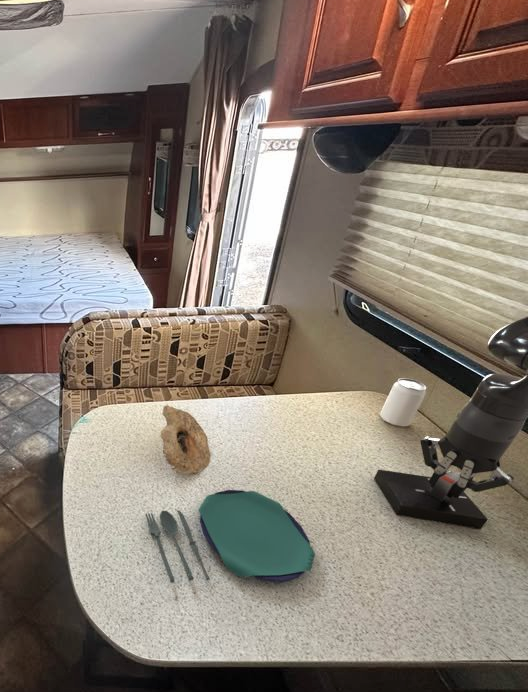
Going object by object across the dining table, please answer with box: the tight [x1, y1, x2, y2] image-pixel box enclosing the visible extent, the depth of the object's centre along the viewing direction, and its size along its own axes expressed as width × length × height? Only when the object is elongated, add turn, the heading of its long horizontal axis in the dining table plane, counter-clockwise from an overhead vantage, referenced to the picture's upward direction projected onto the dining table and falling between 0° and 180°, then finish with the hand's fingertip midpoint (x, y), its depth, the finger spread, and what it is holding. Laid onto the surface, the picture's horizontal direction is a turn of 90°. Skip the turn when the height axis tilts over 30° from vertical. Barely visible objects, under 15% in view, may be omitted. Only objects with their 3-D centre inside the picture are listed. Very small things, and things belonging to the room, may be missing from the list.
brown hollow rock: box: [160, 404, 211, 475], centre depth 96 cm, size 18×14×8 cm
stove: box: [373, 468, 489, 530], centre depth 79 cm, size 14×10×3 cm
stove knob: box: [429, 469, 460, 501], centre depth 77 cm, size 4×2×5 cm, turn 114°
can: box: [379, 377, 427, 428], centre depth 100 cm, size 6×6×12 cm
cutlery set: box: [145, 489, 316, 583], centre depth 74 cm, size 20×30×2 cm, turn 93°
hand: (442, 490), depth 77 cm, fingers closed on stove knob, 2 cm apart
